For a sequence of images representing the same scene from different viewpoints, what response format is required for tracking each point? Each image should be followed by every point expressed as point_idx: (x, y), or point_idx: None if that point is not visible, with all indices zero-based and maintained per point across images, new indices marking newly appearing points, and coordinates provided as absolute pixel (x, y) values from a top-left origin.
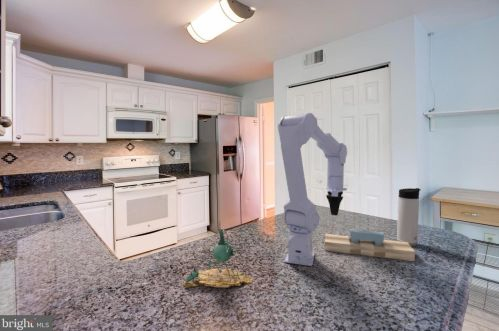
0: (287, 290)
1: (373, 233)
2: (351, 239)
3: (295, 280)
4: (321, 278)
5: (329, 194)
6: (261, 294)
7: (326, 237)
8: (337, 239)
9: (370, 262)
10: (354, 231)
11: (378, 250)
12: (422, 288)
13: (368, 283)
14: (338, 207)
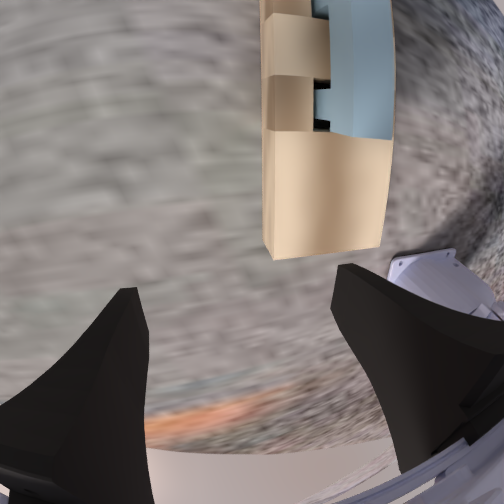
0: (498, 264)
1: (386, 12)
2: (310, 118)
3: (484, 262)
4: (485, 219)
5: (149, 497)
6: (496, 291)
7: (328, 247)
8: (344, 194)
9: (418, 74)
10: (385, 114)
11: None
12: (484, 20)
13: (496, 124)
14: (413, 300)
